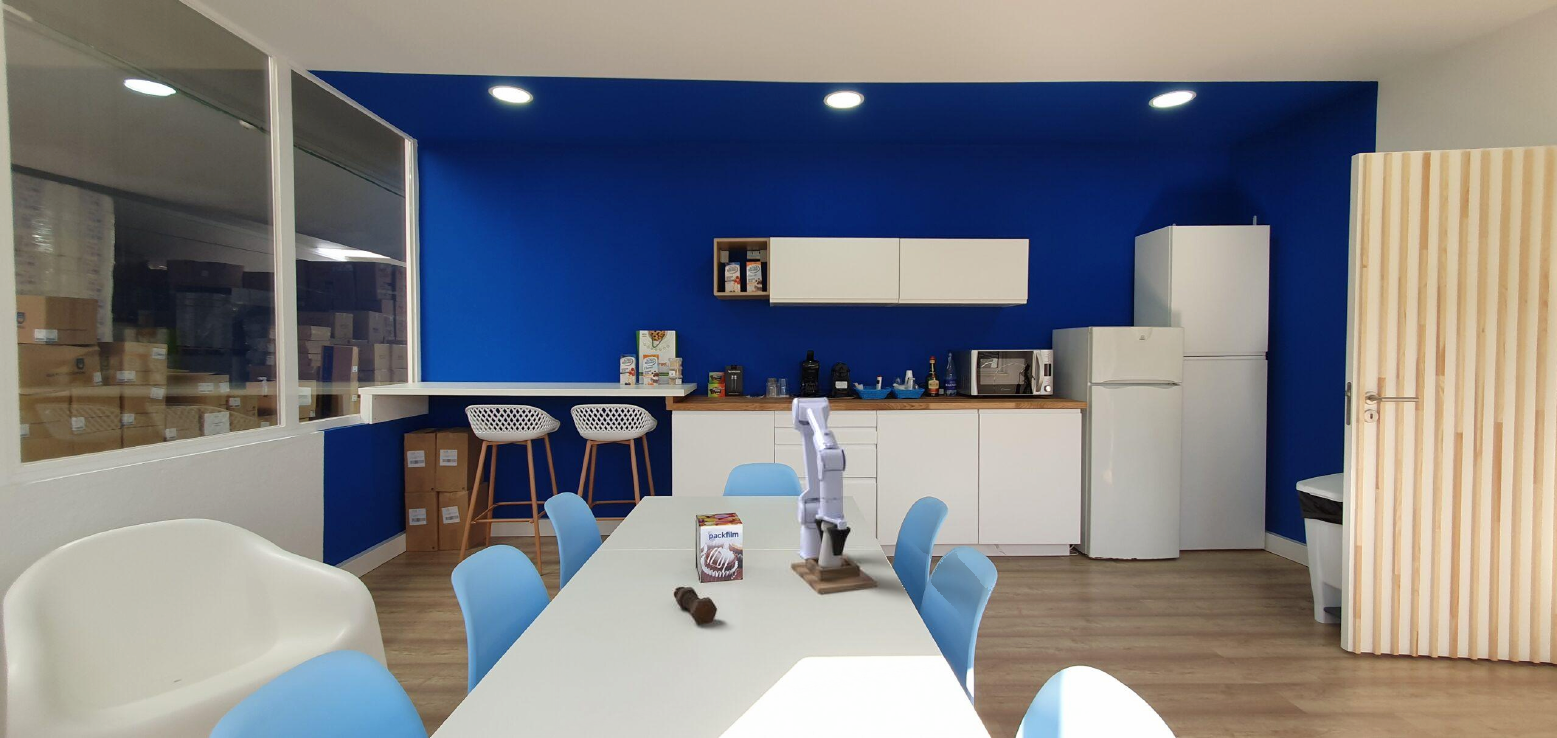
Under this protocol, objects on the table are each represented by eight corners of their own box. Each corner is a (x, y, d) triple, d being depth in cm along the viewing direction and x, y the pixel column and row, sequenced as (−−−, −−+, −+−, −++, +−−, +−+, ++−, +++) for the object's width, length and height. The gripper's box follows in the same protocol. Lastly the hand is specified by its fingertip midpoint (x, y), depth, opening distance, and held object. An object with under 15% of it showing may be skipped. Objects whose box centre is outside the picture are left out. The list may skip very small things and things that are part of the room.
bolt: (683, 608, 157) (709, 629, 144) (664, 601, 155) (689, 622, 142) (694, 584, 158) (721, 603, 145) (676, 576, 156) (701, 595, 143)
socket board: (791, 567, 179) (791, 553, 179) (844, 562, 184) (844, 548, 183) (818, 593, 160) (818, 578, 160) (876, 586, 164) (876, 571, 164)
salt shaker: (814, 574, 170) (814, 522, 170) (823, 567, 175) (823, 517, 175) (836, 577, 167) (836, 525, 167) (845, 570, 173) (845, 519, 172)
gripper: (806, 492, 177) (807, 544, 177) (827, 504, 163) (827, 561, 164) (832, 490, 179) (832, 542, 179) (854, 502, 165) (854, 558, 166)
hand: (832, 551), depth 172 cm, fingers open, 7 cm apart
